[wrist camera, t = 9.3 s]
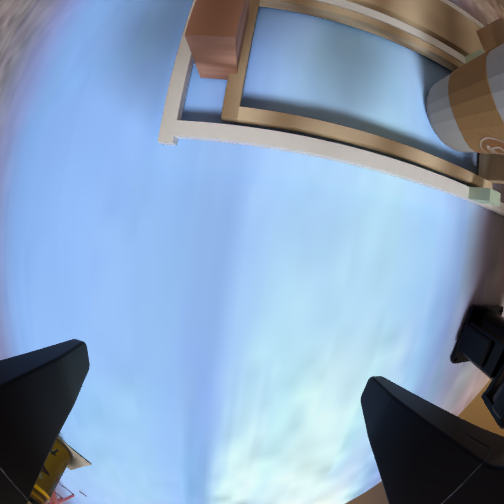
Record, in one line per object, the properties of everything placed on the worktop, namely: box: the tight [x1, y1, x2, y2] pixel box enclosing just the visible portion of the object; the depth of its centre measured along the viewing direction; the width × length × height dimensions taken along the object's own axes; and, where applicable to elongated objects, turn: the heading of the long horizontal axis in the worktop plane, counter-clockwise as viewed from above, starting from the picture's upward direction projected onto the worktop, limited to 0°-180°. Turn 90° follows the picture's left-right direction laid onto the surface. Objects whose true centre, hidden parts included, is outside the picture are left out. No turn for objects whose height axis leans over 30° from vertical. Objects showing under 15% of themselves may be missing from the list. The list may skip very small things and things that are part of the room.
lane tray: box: [158, 0, 504, 216], centre depth 14 cm, size 37×23×4 cm, turn 82°
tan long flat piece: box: [346, 0, 484, 57], centre depth 14 cm, size 25×6×1 cm, turn 82°
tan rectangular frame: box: [185, 0, 504, 189], centre depth 13 cm, size 25×11×6 cm, turn 82°
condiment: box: [27, 436, 92, 504], centre depth 18 cm, size 7×8×12 cm
